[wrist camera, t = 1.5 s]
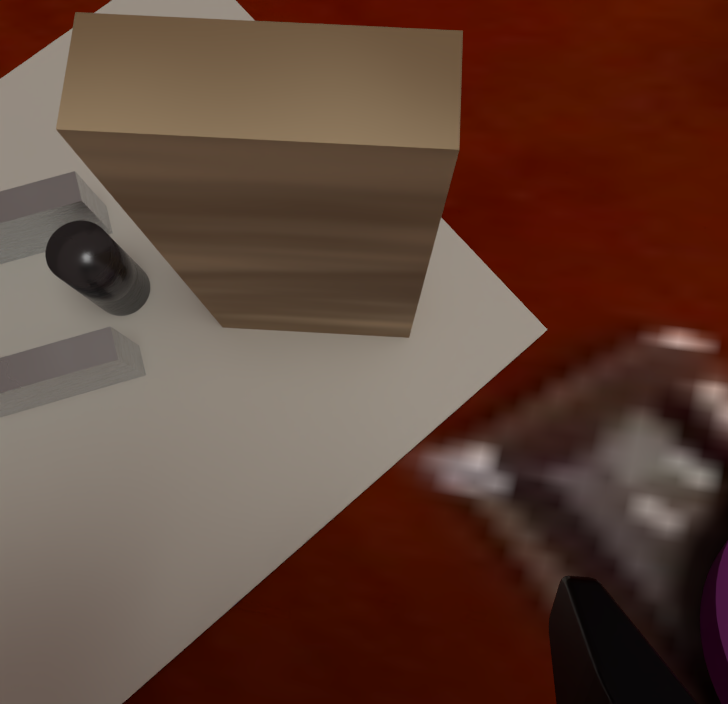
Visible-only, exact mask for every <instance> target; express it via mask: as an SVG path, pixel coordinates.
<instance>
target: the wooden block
mask: <svg viewBox="0 0 728 704" xmlns="http://www.w3.org/2000/svg"><path fill="white" fill-rule="evenodd" d="M462 39H463V31H456V30H435V29H414V28H393V27H372V26H351V25H330V24H309V23H289V22H268V21H247V20H226V19H205V18H184V17H163V16H142V15H121V14H100V13H79V12H75V18H74V24H73V30H72V36H71V42H70V48H69V54H68V60H67V66H66V72H65V78H64V84H63V90H62V96H61V101H60V107H59V113H58V119H57V125H56V130H57V131H58V133H59V134H60V135H61V136H62V137H63V138H64V140H65V141H66V142H67V143H68V144H69V146H70V147H71V148H72V149H73V150H74V152H75V153H76V154H77V155H78V156H79V157H80V159H81V160H82V161H83V162H84V163H85V165H86V166H87V167H88V168H89V169H90V171H91V172H92V173H93V174H94V175H95V176H96V178H97V179H98V180H99V181H100V182H101V184H102V185H103V186H104V187H105V188H106V190H107V191H108V192H109V193H110V194H111V195H112V197H113V198H114V199H115V200H116V201H117V203H118V204H119V205H120V206H121V207H122V209H123V210H124V211H125V212H126V213H127V214H128V216H129V217H130V218H131V219H132V220H133V222H134V223H135V224H136V225H137V226H138V228H139V229H140V230H141V231H142V232H143V233H144V235H145V236H146V237H147V238H148V239H149V241H150V242H151V243H152V244H153V245H154V247H155V248H156V249H157V250H158V251H159V253H160V254H161V255H162V256H163V257H164V258H165V260H166V261H167V262H168V263H169V264H170V266H171V267H172V268H173V269H174V270H175V272H176V273H177V274H178V275H179V276H180V277H181V279H182V280H183V281H184V282H185V283H186V285H187V286H188V287H189V288H190V289H191V291H192V292H193V293H194V294H195V295H196V296H197V298H198V299H199V300H200V301H201V302H202V304H203V305H204V306H205V307H206V308H207V310H208V311H209V312H210V313H211V314H212V315H213V317H214V318H215V319H216V320H217V321H218V323H219V324H220V325H221V326H222V327H223V328H240V329H258V330H276V331H295V332H313V333H331V334H349V335H368V336H386V337H404V338H409V336H410V333H411V329H412V325H413V321H414V317H415V314H416V310H417V306H418V302H419V299H420V295H421V291H422V287H423V284H424V280H425V276H426V272H427V269H428V265H429V261H430V257H431V254H432V250H433V246H434V242H435V239H436V235H437V231H438V227H439V224H440V220H441V216H442V212H443V208H444V205H445V201H446V197H447V193H448V190H449V186H450V182H451V178H452V175H453V171H454V167H455V163H456V160H457V156H458V152H459V138H460V105H461V72H462Z"/></svg>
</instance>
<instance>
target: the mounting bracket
mask: <svg viewBox="0 0 728 704" xmlns="http://www.w3.org/2000/svg"><path fill="white" fill-rule="evenodd" d="M700 632H701V642H702V647H703V653H704V658H705V661H706V665H707V669H708V672H709V676H710V678H711V681H712V683H713V686H714V689H715V691H716V694H717V696H718V698H719V700H720V702H721V704H728V540H727V542H726V543H725V544H724V546H723V547H722V549H721V550H720V552H719V553H718V555H717V556H716V558H715V560H714V562H713V564H712V566H711V568H710V570H709V572H708V575H707V578H706V581H705V584H704V588H703V593H702V599H701V607H700Z"/></svg>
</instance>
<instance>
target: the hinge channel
mask: <svg viewBox="0 0 728 704" xmlns="http://www.w3.org/2000/svg"><path fill="white" fill-rule="evenodd" d="M111 233H113V232H112V228H111V224H110V220H109V215H108V211H107V207H106V205H105V204H104V203H103V202H102V201H101V200H100V199H99V197H98V196H97V195H96V194H95V193H94V192H93V191H92V190H91V188H90V187H89V186H88V185H87V184H86V183H85V182H84V181H83V179H82V178H81V177H80V176H79V175H78V174H77V173H76V172H75V171H73V172H70V173H66V174H62V175H59V176H55V177H51V178H47V179H44V180H40V181H36V182H33V183H29V184H25V185H22V186H18V187H14V188H11V189H7V190H3V191H0V264H3V263H7V262H10V261H14V260H18V259H21V258H25V257H28V256H32V255H36V254H39V253H43V252H45V257H46V262H47V265H48V267H49V269H50V270H51V271H52V273H53V274H54V275H56V276H57V277H58V278H60V279H61V280H62V281H64V282H65V283H67V284H68V285H69V286H71V287H72V288H74V289H75V290H76V291H78V292H79V293H81V294H82V295H83V296H85V297H86V298H88V299H89V300H90V301H92V302H93V303H95V304H96V305H97V306H99V307H100V308H102V309H103V310H104V311H106V312H107V313H109V314H112V315H116V316H125V315H129V314H132V313H134V312H136V311H138V310H139V309H140V308H141V307H142V306H143V305H144V304H145V303H146V301H147V299H148V297H149V294H150V281H149V278H148V276H147V274H146V273H145V272H144V271H143V270H142V269H141V267H140V266H139V265H138V264H137V263H136V262H135V261H134V260H133V259H132V258H131V257H130V256H129V255H128V254H127V253H126V252H125V251H124V250H123V249H122V248H121V247H120V246H119V245H118V244H117V243H116V242H115V241H114V240H113V239H112V238H111V237H110V236H109V235H108V234H111ZM145 375H146V372H145V368H144V364H143V359H142V355H141V351H140V347H139V345H138V344H136V343H135V342H133V341H132V340H130V339H129V338H127V337H126V336H124V335H123V334H121V333H120V332H118V331H117V330H115V329H114V328H112V327H111V326H110V327H106V328H103V329H99V330H96V331H92V332H89V333H85V334H82V335H78V336H75V337H71V338H68V339H64V340H61V341H57V342H54V343H50V344H47V345H43V346H40V347H36V348H33V349H29V350H26V351H22V352H19V353H15V354H12V355H8V356H5V357H1V358H0V418H1V417H4V416H8V415H11V414H14V413H18V412H21V411H25V410H28V409H32V408H35V407H38V406H42V405H45V404H49V403H52V402H56V401H59V400H63V399H66V398H69V397H73V396H76V395H80V394H83V393H87V392H90V391H93V390H97V389H100V388H104V387H107V386H111V385H114V384H118V383H121V382H124V381H128V380H131V379H135V378H138V377H142V376H145Z"/></svg>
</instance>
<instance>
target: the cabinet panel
mask: <svg viewBox="0 0 728 704" xmlns="http://www.w3.org/2000/svg"><path fill="white" fill-rule="evenodd" d="M95 13H100V14H121V15H142V16H163V17H184V18H205V19H226V20H247V21H255V20H254V19H253V18H252V17H251V16H250V15H249V14H248V13H247V12H246V11H245V10H244V9H243V8H242V7H241V6H240V5H239V4H238V3H237V1H236V0H112V1H111V2H109V3H108V4H106V5H105V6H103V7H102V8H101V9H99V10H98V11H96V12H95ZM72 30H73V28H72V29H71V30H69V31H68V32H67V33H65V34H64V35H62V36H61V37H59V38H58V39H57V40H55V41H54V42H52V43H51V44H49V45H48V46H47V47H45V48H44V49H42V50H41V51H40V52H38V53H37V54H35V55H34V56H32V57H31V58H30V59H28V60H27V61H25V62H24V63H22V64H21V65H20V66H18V67H17V68H15V69H14V70H13V71H11V72H10V73H8V74H7V75H5V76H4V77H3V78H1V79H0V191H3V190H7V189H11V188H14V187H18V186H22V185H25V184H29V183H33V182H36V181H40V180H44V179H47V178H51V177H55V176H59V175H62V174H66V173H70V172H73V171H75V172H76V173H77V174H78V175H79V176H80V177H81V178H82V179H83V181H84V182H85V183H86V184H87V185H88V186H89V187H90V188H91V190H92V191H93V192H94V193H95V194H96V195H97V196H98V197H99V199H100V200H101V201H102V202H103V203H104V204H105V205H106V207H107V211H108V215H109V220H110V224H111V228H112V232H113V233H111V234H108V235H109V236H110V237H111V238H112V239H113V240H114V241H115V242H116V243H117V244H118V245H119V246H120V247H121V248H122V249H123V250H124V251H125V252H126V253H127V254H128V255H129V256H130V257H131V258H132V259H133V260H134V261H135V262H136V263H137V264H138V265H139V266H140V267H141V269H142V270H143V271H144V272H145V273H146V274H147V276H148V278H149V281H150V294H149V297H148V299H147V301H146V303H145V304H144V305H143V306H142V307H141V308H140V309H139V310H138V311H136V312H134V313H132V314H129V315H125V316H116V315H112V314H109V313H107V312H106V311H104V310H103V309H102V308H100V307H99V306H97V305H96V304H95V303H93V302H92V301H90V300H89V299H88V298H86V297H85V296H83V295H82V294H81V293H79V292H78V291H76V290H75V289H74V288H72V287H71V286H69V285H68V284H67V283H65V282H64V281H62V280H61V279H60V278H58V277H57V276H56V275H54V274H53V273H52V271H51V270H50V269H49V267H48V265H47V262H46V257H45V252H43V253H39V254H36V255H32V256H28V257H25V258H21V259H18V260H14V261H10V262H7V263H3V264H0V358H1V357H5V356H8V355H12V354H15V353H19V352H22V351H26V350H29V349H33V348H36V347H40V346H43V345H47V344H50V343H54V342H57V341H61V340H64V339H68V338H71V337H75V336H78V335H82V334H85V333H89V332H92V331H96V330H99V329H103V328H106V327H110V326H111V327H112V328H114V329H115V330H117V331H118V332H120V333H121V334H123V335H124V336H126V337H127V338H129V339H130V340H132V341H133V342H135V343H136V344H138V345H139V347H140V351H141V355H142V359H143V364H144V368H145V372H146V375H145V376H142V377H138V378H135V379H131V380H128V381H124V382H121V383H118V384H114V385H111V386H107V387H104V388H100V389H97V390H93V391H90V392H87V393H83V394H80V395H76V396H73V397H69V398H66V399H63V400H59V401H56V402H52V403H49V404H45V405H42V406H38V407H35V408H32V409H28V410H25V411H21V412H18V413H14V414H11V415H8V416H4V417H1V418H0V704H122V703H124V702H125V701H126V700H127V699H128V698H129V697H130V696H132V695H133V694H134V693H135V692H136V691H137V690H138V689H140V688H141V687H142V686H143V685H144V684H145V683H146V682H148V681H149V680H150V679H151V678H152V677H153V676H154V675H155V674H157V673H158V672H159V671H160V670H161V669H162V668H163V667H165V666H166V665H167V664H168V663H169V662H170V661H171V660H173V659H174V658H175V657H176V656H177V655H178V654H179V653H180V652H182V651H183V650H184V649H185V648H186V647H187V646H188V645H190V644H191V643H192V642H193V641H194V640H195V639H196V638H198V637H199V636H200V635H201V634H202V633H203V632H204V631H206V630H207V629H208V628H209V627H210V626H211V625H212V624H213V623H215V622H216V621H217V620H218V619H219V618H220V617H221V616H223V615H224V614H225V613H226V612H227V611H228V610H229V609H231V608H232V607H233V606H234V605H235V604H236V603H237V602H239V601H240V600H241V599H242V598H243V597H244V596H245V595H246V594H248V593H249V592H250V591H251V590H252V589H253V588H254V587H256V586H257V585H258V584H259V583H260V582H261V581H262V580H264V579H265V578H266V577H267V576H268V575H269V574H270V573H272V572H273V571H274V570H275V569H276V568H277V567H278V566H279V565H281V564H282V563H283V562H284V561H285V560H286V559H287V558H289V557H290V556H291V555H292V554H293V553H294V552H295V551H297V550H298V549H299V548H300V547H301V546H302V545H303V544H305V543H306V542H307V541H308V540H309V539H310V538H311V537H312V536H314V535H315V534H316V533H317V532H318V531H319V530H320V529H322V528H323V527H324V526H325V525H326V524H327V523H328V522H330V521H331V520H332V519H333V518H334V517H335V516H336V515H338V514H339V513H340V512H341V511H342V510H343V509H344V508H345V507H347V506H348V505H349V504H350V503H351V502H352V501H353V500H355V499H356V498H357V497H358V496H359V495H360V494H361V493H363V492H364V491H365V490H366V489H367V488H368V487H369V486H371V485H372V484H373V483H374V482H375V481H376V480H377V479H378V478H380V477H381V476H382V475H383V474H384V473H385V472H386V471H388V470H389V469H390V468H391V467H392V466H393V465H394V464H396V463H397V462H398V461H399V460H400V459H401V458H402V457H404V456H405V455H406V454H407V453H408V452H409V451H410V450H411V449H413V448H414V447H415V446H416V445H417V444H418V443H419V442H421V441H422V440H423V439H424V438H425V437H426V436H427V435H429V434H430V433H431V432H432V431H433V430H434V429H435V428H437V427H438V426H439V425H440V424H441V423H442V422H443V421H444V420H446V419H447V418H448V417H449V416H450V415H451V414H452V413H454V412H455V411H456V410H457V409H458V408H459V407H460V406H462V405H463V404H464V403H465V402H466V401H467V400H468V399H470V398H471V397H472V396H473V395H474V394H475V393H476V392H477V391H479V390H480V389H481V388H482V387H483V386H484V385H485V384H487V383H488V382H489V381H490V380H491V379H492V378H493V377H495V376H496V375H497V374H498V373H499V372H500V371H501V370H502V369H504V368H505V367H506V366H507V365H508V364H509V363H510V362H512V361H513V360H514V359H515V358H516V357H517V356H518V355H520V354H521V353H522V352H523V351H524V350H525V349H526V348H528V347H529V346H530V345H531V344H532V343H533V342H534V341H535V340H537V339H538V338H539V337H540V336H541V335H542V334H543V333H544V332H545V331H546V330H547V329H546V328H545V327H544V326H543V325H542V323H541V322H540V321H539V320H538V319H537V318H536V317H535V316H534V315H533V314H532V313H531V312H530V311H529V310H528V309H527V308H526V307H525V306H524V304H523V303H522V302H521V301H520V300H519V299H518V298H517V297H516V296H515V295H514V294H513V293H512V292H511V291H510V290H509V289H508V288H507V287H506V285H505V284H504V283H503V282H502V281H501V280H500V279H499V278H498V277H497V276H496V275H495V274H494V273H493V272H492V271H491V270H490V269H489V268H488V266H487V265H486V264H485V263H484V262H483V261H482V260H481V259H480V258H479V257H478V256H477V255H476V254H475V253H474V252H473V251H472V250H471V249H470V247H469V246H468V245H467V244H466V243H465V242H464V241H463V240H462V239H461V238H460V237H459V236H458V235H457V234H456V233H455V232H454V231H453V230H452V228H451V227H450V226H449V225H448V224H447V223H446V222H445V221H444V220H443V219H442V218H441V220H440V224H439V227H438V231H437V235H436V239H435V242H434V246H433V250H432V254H431V257H430V261H429V265H428V269H427V272H426V276H425V280H424V284H423V287H422V291H421V295H420V299H419V302H418V306H417V310H416V314H415V317H414V321H413V325H412V329H411V333H410V336H409V338H404V337H386V336H368V335H349V334H331V333H313V332H295V331H276V330H258V329H240V328H223V327H222V326H221V325H220V324H219V323H218V321H217V320H216V319H215V318H214V317H213V315H212V314H211V313H210V312H209V311H208V310H207V308H206V307H205V306H204V305H203V304H202V302H201V301H200V300H199V299H198V298H197V296H196V295H195V294H194V293H193V292H192V291H191V289H190V288H189V287H188V286H187V285H186V283H185V282H184V281H183V280H182V279H181V277H180V276H179V275H178V274H177V273H176V272H175V270H174V269H173V268H172V267H171V266H170V264H169V263H168V262H167V261H166V260H165V258H164V257H163V256H162V255H161V254H160V253H159V251H158V250H157V249H156V248H155V247H154V245H153V244H152V243H151V242H150V241H149V239H148V238H147V237H146V236H145V235H144V233H143V232H142V231H141V230H140V229H139V228H138V226H137V225H136V224H135V223H134V222H133V220H132V219H131V218H130V217H129V216H128V214H127V213H126V212H125V211H124V210H123V209H122V207H121V206H120V205H119V204H118V203H117V201H116V200H115V199H114V198H113V197H112V195H111V194H110V193H109V192H108V191H107V190H106V188H105V187H104V186H103V185H102V184H101V182H100V181H99V180H98V179H97V178H96V176H95V175H94V174H93V173H92V172H91V171H90V169H89V168H88V167H87V166H86V165H85V163H84V162H83V161H82V160H81V159H80V157H79V156H78V155H77V154H76V153H75V152H74V150H73V149H72V148H71V147H70V146H69V144H68V143H67V142H66V141H65V140H64V138H63V137H62V136H61V135H60V134H59V133H58V131H57V130H56V125H57V119H58V113H59V107H60V101H61V96H62V90H63V84H64V78H65V72H66V66H67V60H68V54H69V48H70V42H71V36H72Z"/></svg>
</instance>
